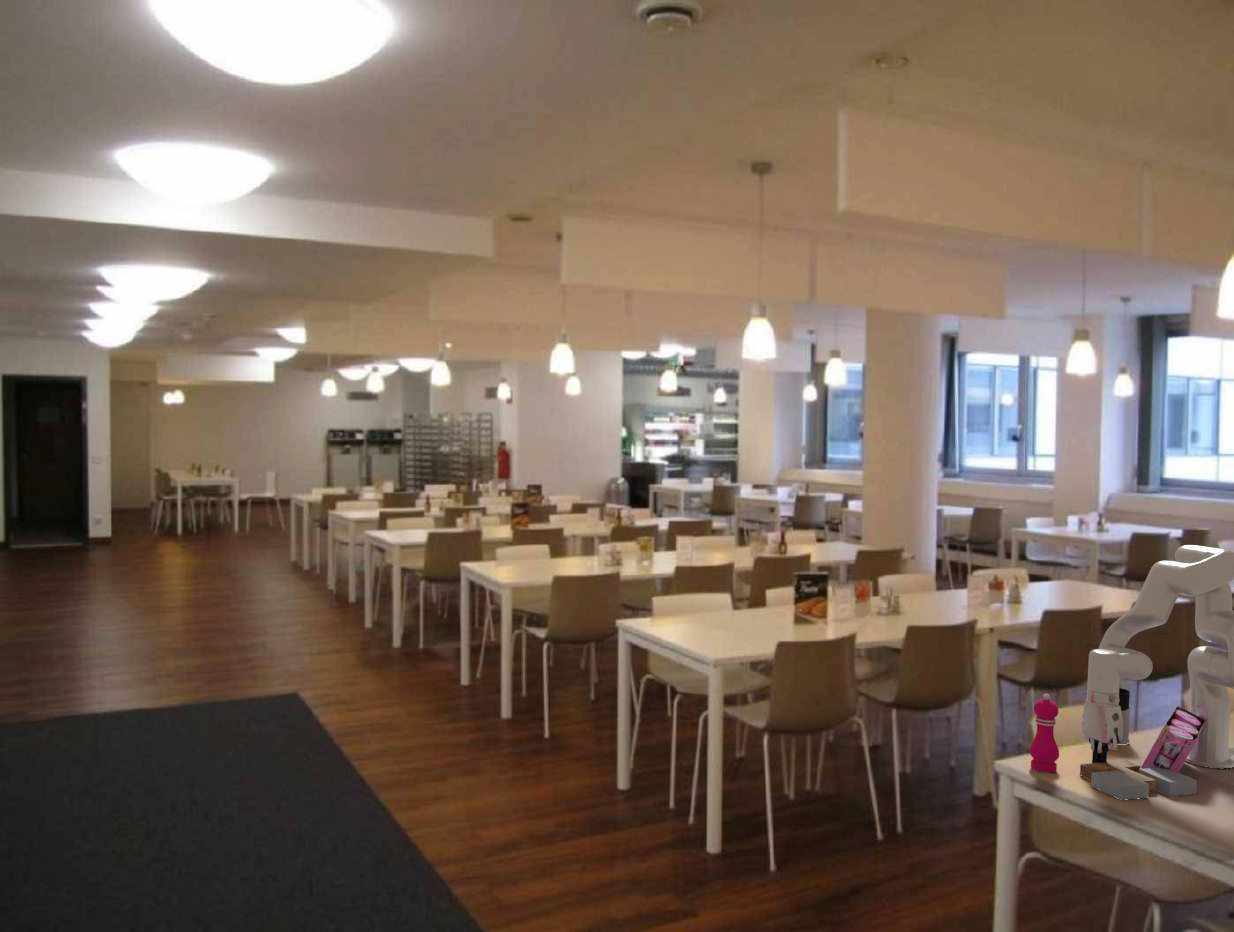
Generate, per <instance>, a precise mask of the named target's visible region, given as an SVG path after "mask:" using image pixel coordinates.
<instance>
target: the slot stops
mask: <svg viewBox="0 0 1234 932" xmlns="http://www.w3.org/2000/svg"><path fill="white" fill-rule="evenodd" d="M1139 774H1142V775H1144V776H1147V777H1149V778H1152V779H1154V780H1156V790H1158V791H1157V792H1159V791H1160V792H1159V793H1161V792H1162V793H1161V794H1163V793H1164V795H1165V794H1166V795H1165V796H1168V797H1170V796H1171V797H1180V796H1179V795H1183V796H1190V795H1191V796H1192V794H1194V795H1197V788H1198V786H1197V784H1198V780H1197V779H1195V778H1193V777H1190V776H1187V775H1184V774H1182V773H1180V772H1175V771H1171V770H1169V769H1164V768H1146V769H1142V768H1140V769H1139ZM1090 782H1091V784H1090V787H1091V786H1092V787H1091V788H1093V789H1095V788H1098V789H1100V790H1101V791H1100V790H1099V791H1100V792H1102V791H1103V792H1102V793H1104V792H1105V793H1104V794H1106V793H1107V794H1106V795H1108V794H1109V796H1110V795H1111V796H1110V797H1112V796H1115V797H1117V798H1119V799H1121V800H1125V799H1137V798H1147V797H1149V798H1150V793H1149V784H1147V783H1145V782H1143V781H1141V780H1138V779H1136V778H1134V777H1131V776H1129V775H1127V774H1124V773H1122V772H1120V771H1108V772H1095V773H1092V778H1091V780H1090ZM1117 798H1116V799H1117ZM1119 799H1118V800H1119ZM1121 800H1120V801H1121ZM1137 800H1138V799H1137ZM1125 801H1126V800H1125Z"/></svg>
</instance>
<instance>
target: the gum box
mask: <svg viewBox="0 0 1234 932" xmlns="http://www.w3.org/2000/svg"><path fill="white" fill-rule="evenodd" d="M1205 722H1206V720H1205V719H1203V718H1201V717H1199V716H1197V715H1195V714H1193V713H1191V712H1190V710H1187V709H1185V708H1183V707H1181V706H1180V705H1177V706H1176V707H1175V708H1174V710H1173V711H1172V712H1171V714H1170V716H1169V718H1168V719H1167V720H1166V722H1165V724H1164V725H1163V726H1162V728H1161V730H1160V731H1159V734H1158V735H1157V737H1156V739H1155V741H1154V742H1153V745H1152V747H1151V748H1150V750H1149V752H1148V753H1147V756H1146V758H1145V759H1144V761H1143V764H1141V766H1140V769H1146V768H1164V769H1169V770H1171V771H1175V772H1178V773H1180V770H1181V769H1182V767H1183V765H1184V763H1185V762H1186V761H1185V760H1186V758H1187V757H1188V755H1189V753H1190V751H1191V749H1192V748H1193V746H1194V744H1195V742H1196V740H1197V738H1198V736H1199V734H1200V732H1201V730H1202V728H1203V726H1204V724H1205Z"/></svg>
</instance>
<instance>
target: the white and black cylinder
mask: <svg viewBox="0 0 1234 932" xmlns="http://www.w3.org/2000/svg"><path fill="white" fill-rule="evenodd" d="M1130 694H1131V691H1130V690H1128V689H1126V688H1122V687H1119V700H1120V701H1119V703H1118V705H1119V706H1120V707H1121V712H1122V722H1123V739H1122V743H1117V744H1127V743H1129V742H1130V738H1129V736H1130V735H1129V734H1130V733H1129V730H1130V714H1131V713H1130V710H1131V707H1130V697H1131V695H1130Z"/></svg>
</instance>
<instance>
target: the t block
mask: <svg viewBox="0 0 1234 932" xmlns="http://www.w3.org/2000/svg"><path fill="white" fill-rule="evenodd" d="M1079 767H1080V770H1079V776H1080V775H1082V776H1084V777H1086V778H1088V779H1090V780H1089V781H1091V778H1092V773H1095V772H1108V771H1120V772H1122V773H1124V774H1127V775H1129V776H1131V777H1134V778H1136V779H1138V780H1141V781H1143V782H1145V783H1147V784H1149V792H1153V793H1156V792H1157V791H1156V780H1154V779H1152V778H1149V777H1147V776H1144V775H1142V774H1139V769H1141V765H1140V764H1137V763H1134V762H1131V761H1129V760H1128V759H1126V760H1115V761H1107V762H1101V763H1092V762H1091V763H1081V764H1080V766H1079ZM1082 776H1081V777H1082ZM1084 777H1083V778H1084ZM1086 778H1085V779H1086ZM1088 779H1087V780H1088Z"/></svg>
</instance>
